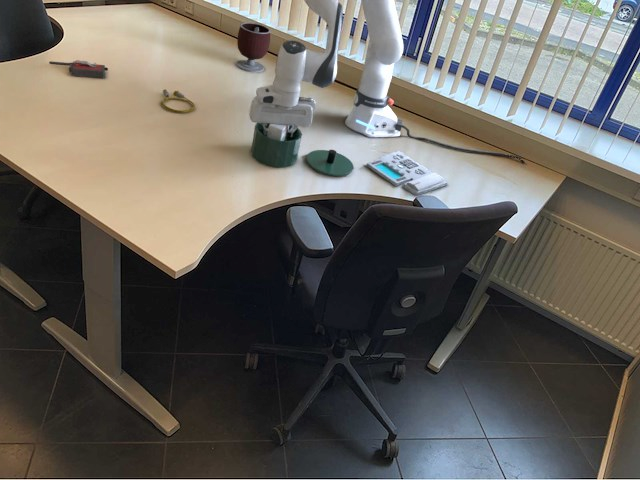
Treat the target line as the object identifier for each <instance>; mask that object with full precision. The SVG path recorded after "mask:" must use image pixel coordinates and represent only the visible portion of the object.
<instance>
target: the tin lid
mask: <svg viewBox="0 0 640 480" xmlns="http://www.w3.org/2000/svg"><path fill="white" fill-rule="evenodd" d="M306 162H307V164H308V165H309V167H310V168H311V169H313V170H315V171H317V172H318V173H321V174H324V175H328V176H333V177H345V176H348V175H349V174H351V173H352V172H353V170H354V164H353V162H352V161H351V160H350V159H349V158H348V157H346V156H345V155H344V154H341V153H339V152H337V151H336V150H335V149H329V150H327V149H316V150H312V151H310V152H309V153H308V154H307V156H306Z"/></svg>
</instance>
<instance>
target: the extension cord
mask: <svg viewBox="0 0 640 480" xmlns="http://www.w3.org/2000/svg"><path fill="white" fill-rule="evenodd" d="M162 94H163V96H164V97H165V98H164V99H162V101H161V102H160V105H161V107H162V108H163V109H165V110H167V111H169V112H171V113H172V112H173V113H176V114H177V113H178V114H187V113H189V112H192V111H194V110H195V106H196V105H195V103H194V102H193V101H192V100H190V99H188V98H186V97H185V94H183V93H182V92H180V91H179V90H174V91H173V96H175V97H170V92H169V91H168V90H167V89H163V90H162ZM172 100H173V101H180V102H184V103H187V104H189V105H191V108H188V109H182V110H179V109H175V108H171V107H169V106H167V105H166V104H164V103H165V102H167V101H172Z"/></svg>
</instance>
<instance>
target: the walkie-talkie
mask: <svg viewBox="0 0 640 480" xmlns="http://www.w3.org/2000/svg"><path fill="white" fill-rule="evenodd" d="M48 63H49V65H54V66H65V67H66V66H67V67H68V72H69V74H71V76H73V77H80V78H93V79H94V78H95V79H105V78H106V72H107V71H109V68H108V67H106V66H105V64H97V63H96V62H94V63H90V62H89V61H87V60H78V59H77V60H73V61H72V62H64V61H63V62H62V61H52V60H51V61H48Z"/></svg>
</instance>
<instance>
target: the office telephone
mask: <svg viewBox="0 0 640 480" xmlns="http://www.w3.org/2000/svg"><path fill="white" fill-rule="evenodd" d="M366 167H368V168H369V169H370V170H372V171H373V172H374V173H376V174H377V175H379V176H380V177H382V178H383V179H385V180H386V181H387V182H389V183H391V184H392V185H394V186H395V187H399V186H400V185H403V186H402V187H403V188H404V189H406V190H407V191H408V192H410V193H411V194H413V195H414V196H420V195H423V194H426V193H429V192H431V191H435V190H438V189H440V188H442V187H445V186H447V185H448V183H449V182H448V181H447V180H445V179H444V177H442V175H440V174H439V173H437V172H436V173H435V172H433V171H431V170H430V169H428V168H427V167H425V166H424V165H422V164H420V163H419V162H417V161H416V160H414V159H413V158H412V157H410V156H408V155H407V154H406V153H404V152H402V151H401V150H397V151H394V152H391V153H387V154H384V155H382V156H381V157H380V158H378V159H375V160H372V161H367V163H366Z"/></svg>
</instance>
